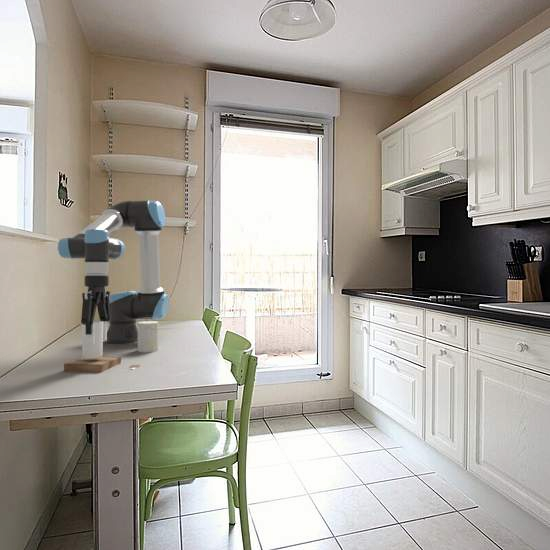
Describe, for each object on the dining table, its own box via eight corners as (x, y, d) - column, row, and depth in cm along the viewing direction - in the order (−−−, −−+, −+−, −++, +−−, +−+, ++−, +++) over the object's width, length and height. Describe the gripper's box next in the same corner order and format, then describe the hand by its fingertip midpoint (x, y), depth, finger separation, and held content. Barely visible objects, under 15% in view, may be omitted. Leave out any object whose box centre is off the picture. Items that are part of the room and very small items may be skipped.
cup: (147, 354, 164) (147, 324, 164) (133, 352, 169) (133, 322, 168) (162, 351, 171) (162, 322, 171) (149, 349, 175) (149, 320, 175)
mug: (102, 358, 139) (103, 322, 139) (80, 359, 136) (81, 323, 136) (103, 353, 148) (103, 319, 148) (82, 354, 146) (83, 320, 146)
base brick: (86, 364, 148) (86, 355, 148) (120, 365, 147) (120, 356, 147) (64, 372, 135) (64, 363, 135) (101, 374, 134) (101, 364, 134)
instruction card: (127, 364, 145) (127, 363, 145) (147, 364, 146) (147, 363, 146) (118, 371, 135) (118, 370, 135) (140, 371, 136) (140, 370, 136)
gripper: (101, 274, 151) (101, 337, 152) (68, 275, 131) (68, 347, 131) (121, 274, 151) (121, 337, 151) (91, 275, 130) (90, 347, 131)
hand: (96, 341), depth 141 cm, fingers closed on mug, 7 cm apart
